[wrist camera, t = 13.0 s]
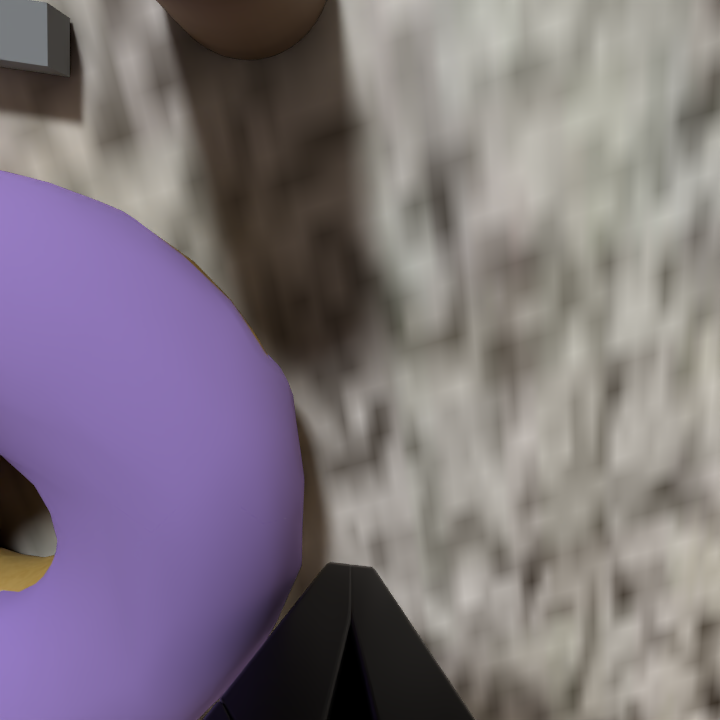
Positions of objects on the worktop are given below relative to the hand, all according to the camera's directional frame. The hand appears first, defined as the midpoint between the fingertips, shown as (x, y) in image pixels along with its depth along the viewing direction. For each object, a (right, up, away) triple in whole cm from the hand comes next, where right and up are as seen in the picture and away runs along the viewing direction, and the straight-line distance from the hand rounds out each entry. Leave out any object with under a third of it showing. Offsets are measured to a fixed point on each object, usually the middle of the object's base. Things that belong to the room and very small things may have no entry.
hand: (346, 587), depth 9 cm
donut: (-5, +2, +1) cm, 6 cm away
